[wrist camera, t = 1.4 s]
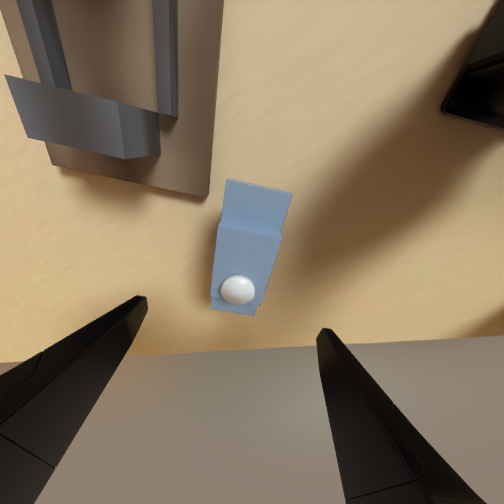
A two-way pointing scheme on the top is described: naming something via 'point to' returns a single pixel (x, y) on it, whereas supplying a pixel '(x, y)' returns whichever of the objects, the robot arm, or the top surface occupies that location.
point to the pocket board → (120, 85)
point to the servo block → (246, 245)
